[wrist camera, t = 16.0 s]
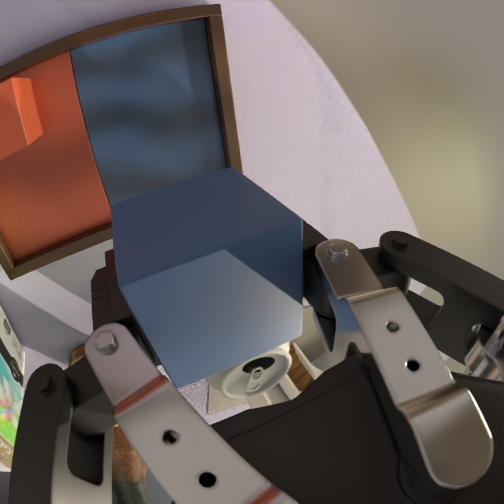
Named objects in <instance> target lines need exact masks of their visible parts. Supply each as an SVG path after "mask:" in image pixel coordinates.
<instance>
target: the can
mask: <svg viewBox="0 0 504 504" xmlns="http://www.w3.org/2000/svg"><path fill="white" fill-rule="evenodd" d="M291 364H292V360H291V356H290V354H289V341H288V342H286V343H284V344H282V345H280V346H278V347H276V348H274V349H272V350H269V351H267V352H265V353H263V354H261V355H258V356H256V357H254V358H252V359H249V360H247V361H245V362H243V363H240V364H238V365H236V366H233V367H231V368H228V369H226V370H224V371H221V372H219V373H216V374H214V375H211V376H209V377H206V380H207V382H208V384H209V385H210V386H211V387H213V388H215V389H216V390H220V391H221V393H222V395H223V396H224V397H226V398H228V399H234V400H242V399H248V398H252V397H255V396H258V395H260V394H262V393H264V392H266V391H268V390H269V389H271V388H272V387H274V386H275V385H276V384H277V383H279V382H280V381H281V380H282V379H283V378H284V376H285V375H286V374H287V373H288V371H289V369H290V366H291Z"/></svg>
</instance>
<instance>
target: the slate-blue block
mask: <svg viewBox="0 0 504 504" xmlns="http://www.w3.org/2000/svg"><path fill="white" fill-rule="evenodd" d="M111 221H112V234H113V246H114V255H115V265H116V273H117V281H118V287H119V289H120V291H121V293H122V295H123V297H124V299H125V301H126V303H127V305H128V306H129V308H130V310H131V312H132V314H133V316H134V318H135V320H136V322H137V323H138V325H139V327H140V329H141V331H142V332H143V334H144V336H145V338H146V340H147V341H148V343H149V345H150V346H151V348H152V350H153V352H154V353H155V355H156V357H157V358H158V360H159V362H160V363H161V365H162V367H163V368H164V370H165V371H166V373H167V375H168V376H169V378H170V379H171V381H172V382H173V384H174V386H175V387H176V388H180V387H183V386H186V385H188V384H191V383H194V382H196V381H199V380H201V379H204V378H206V377H209V376H211V375H214V374H216V373H219V372H221V371H224V370H226V369H228V368H231V367H233V366H236V365H238V364H240V363H243V362H245V361H247V360H249V359H252V358H254V357H256V356H258V355H261V354H263V353H265V352H267V351H269V350H272V349H274V348H276V347H278V346H280V345H282V344H284V343H286V342H288V341H291V340H293V339H295V338H297V337H299V336H301V335H302V313H303V221H302V219H301V218H300V217H299V216H298V215H296V214H295V213H294V212H292V211H291V210H290V209H289V208H287V207H286V206H285V205H283V204H282V203H281V202H279V201H278V200H277V199H275V198H274V197H273V196H271V195H270V194H269V193H267V192H266V191H265V190H263V189H262V188H261V187H259V186H258V185H257V184H255V183H254V182H253V181H251V180H250V179H249V178H247V177H246V176H244V175H243V174H242V173H240V172H239V171H238V170H236V169H235V168H233V167H230V168H226V169H222V170H219V171H215V172H212V173H208V174H205V175H201V176H198V177H195V178H191V179H188V180H185V181H181V182H178V183H175V184H172V185H169V186H166V187H163V188H159V189H156V190H153V191H150V192H147V193H145V194H142V195H139V196H136V197H133V198H130V199H127V200H124V201H122V202H119V203H116V204H113V205H111Z"/></svg>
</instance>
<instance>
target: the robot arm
mask: <svg viewBox="0 0 504 504" xmlns="http://www.w3.org/2000/svg"><path fill="white" fill-rule="evenodd" d="M292 212H293V211H292ZM296 215H297V214H296ZM301 219H302V218H301ZM302 221H303V306H304V305H306V304H310V305H311V306H312V307H313V310H312V316H313V319H314V322H315V325H316V328H317V330H318V333H319V336H320V339H321V342H322V344H323V347H324V350H325V353H326V356H327V359H328V363H329V369H328V370H326V371H324V372H323V373H322V374H321V375H320V376H319V377H318V378H317V379H315V380H314V381H313V382H312V383H311V384H310V385H309V386H308V387H307V388H306V389H305V390H303V391H302V392H301V393H300V394H299V395H298V396H297V397H295V398H294V399H292V400H289V401H286V402H281V403H277V404H273V405H268V406H263V407H259V408H254V409H249V410H245V411H243V412H241V413H239V414H236V415H234V416H231V417H229V418H227V419H224V420H222V421H219V422H217V423H214V424H212V425H209V424H208V423H207V422H206V421H205V420H204V419H203V418H202V417H201V415H200V414H199V413H198V412H197V411H196V410H195V409H194V408H193V407H192V406H191V405H190V403H189V402H188V401H187V400H186V399H185V398H184V397H183V396H182V394H181V393H180V392H179V391H178V390H177V389H176V387H175V386H174V385H173V384H172V383H171V382H170V380H169V379H168V378H167V377H166V376H165V375H164V376H163V375H162V374H161V372H160V371H159V370H158V369H157V366H158V365H161V363H160V362H159V360H158V358H157V357H156V355H155V353H154V352H153V350H152V348H151V346H150V345H149V343H148V341H147V340H146V338H145V336H144V334H143V332H142V331H141V329H140V327H139V325H138V323H137V322H136V320H135V318H134V316H133V314H132V312H131V310H130V308H129V306H128V305H127V303H126V301H125V299H124V297H123V295H122V293H121V291H120V289H119V287H118V281H117V273H116V265H115V255H114V249H111V250H109V251H106V252H105V261H106V267H104V268H101V269H98V270H96V272H95V274H94V276H93V278H92V280H91V292H92V293H91V297H92V319H93V332H92V333H91V335H90V336H89V337H88V339H87V341H86V343H85V349H84V351H85V355H84V356H83V357H82V358H81V359H80V360H78V361H77V362H75V363H74V364H73V365H71V366H70V367H68V368H67V369H65V370H64V371H63V370H62V368H60V367H59V366H58V365H56V364H45V365H43V366H40V367H39V368H38V369H36V370H35V371H34V372H33V374H32V375H31V376H30V378H29V380H28V383H27V387H26V390H25V394H24V398H23V403H22V407H21V412H20V416H19V421H18V426H17V432H16V437H15V443H14V450H13V457H12V465H11V474H10V485H9V501H8V504H112V445H113V426H114V425H116V424H117V423H118V425H119V427H120V428H121V430H122V431H123V433H124V435H125V436H126V438H127V439H128V441H129V442H130V444H131V445H132V447H133V448H134V450H135V451H136V453H137V454H138V455H139V457H140V458H141V460H142V461H143V462H144V464H145V465H146V467H147V468H148V469H149V470H150V472H151V473H152V475H153V476H154V477H155V478H156V479H157V481H158V482H159V484H160V485H161V486H162V487H163V489H164V490H165V491H166V492H167V493H168V494H169V496H170V497H171V498H172V503H171V504H504V280H502V279H500V278H498V277H496V276H494V275H492V274H490V273H489V272H487V271H485V270H483V269H481V268H479V267H477V266H475V265H473V264H471V263H469V262H467V261H465V260H463V259H461V258H459V257H457V256H455V255H453V254H451V253H449V252H447V251H445V250H443V249H440V248H438V247H436V246H434V245H432V244H430V243H427V242H425V241H423V240H421V239H419V238H417V237H414V236H412V235H410V234H407V233H405V232H401V231H389V232H386V233H384V234H383V235H382V236H381V237H380V241H379V247H373V248H367V249H358V248H357V247H356V246H355V245H354V244H352V243H351V242H348V241H345V240H340V239H331V240H328V239H327V238H326V237H325V236H323V235H322V234H321V233H320V232H318V231H317V230H316V229H315V228H313V227H312V226H311V225H309V224H307V222H306V221H304V220H303V219H302ZM412 278H413V279H415V280H417V281H419V282H421V283H422V284H424V285H426V286H428V287H430V288H432V289H434V290H436V291H438V292H439V293H440V294H441V295H442V296H443V298H444V305H443V306H438V305H436V304H434V303H433V302H430V301H429V300H427V299H425V298H423V297H421V296H420V295H418V294H416V293H414V292H412V291H410V290H408V289H409V286H410V282H411V279H412ZM437 349H438V350H439V351H441V352H443V353H444V354H446V355H448V356H449V357H451V358H453V359H455V360H456V361H458V362H460V363H461V364H463V365H465V366H466V367H467V369H466V370H465V374H461V373H456V372H451V371H449V369H448V367H447V366H446V364H445V362H444V360H443V358H442V357H441V355H440V353H439V351H438V350H437Z"/></svg>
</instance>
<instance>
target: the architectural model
mask: <svg viewBox="0 0 504 504" xmlns="http://www.w3.org/2000/svg"><path fill="white" fill-rule="evenodd" d="M312 310H313V307H312V306H309V307H306V308H303V313H302V335H301V336H299V337H297V338H295V339H293V340H291V341H289V354H290V356H291V360H292V364H291V366H290V369H289V371H288V373H287V374H286V375H285V376H284V378H283V379H282V380H281V381H280V382H279V383H277V384H276V385H275V386H274V387H272V388H271V389H269V390H268V391H266V392H264V393H262V394H260V395H258V396H255V397H252V398H248V399H242V400H234V399H228V398H226V397H224V396H223V395H222V393H221V391H220V390H216V389H215V388H213V387H211V386H210V385H209V402H208V414H212V413H216V412H219V411H223V410H226V409H230V408H233V407H237V406H240V405H243V404H246V403H248V404H249V405H250V407H251V409H254V408H259V407H263V406H268V405H273V404H277V403H281V402H286V401H289V400H292V399H294V398H295V397H297V396H298V395H299V394H300V393H301V392H302V391H303V390H305V389H306V388H307V387H308V386H309V385H310V384H311V383H312V382H313V381H314V380H315V379H317V378H318V377H319V376H320V375H321V374H322V373H323V372H324V371H326V370H328V369H329V363H328V359H327V356H326V353H325V350H324V347H323V344H322V342H321V339H320V336H319V333H318V330H317V328H316V325H315V322H314V319H313V316H312Z"/></svg>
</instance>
